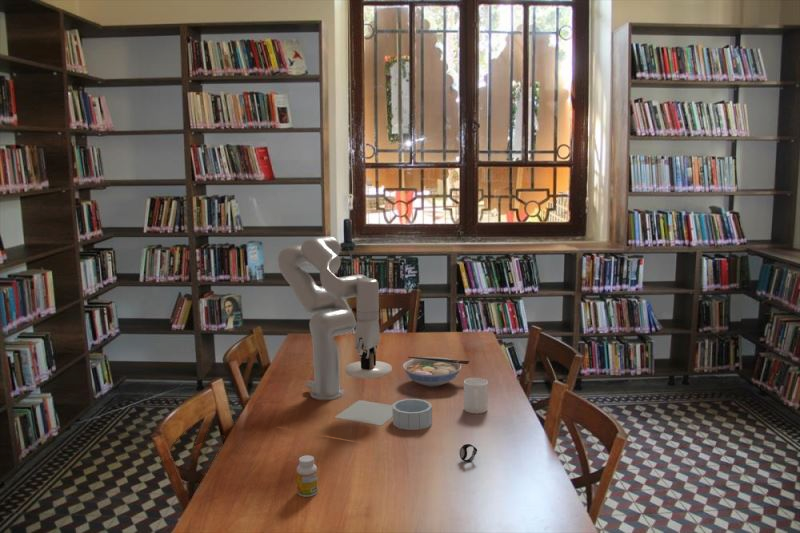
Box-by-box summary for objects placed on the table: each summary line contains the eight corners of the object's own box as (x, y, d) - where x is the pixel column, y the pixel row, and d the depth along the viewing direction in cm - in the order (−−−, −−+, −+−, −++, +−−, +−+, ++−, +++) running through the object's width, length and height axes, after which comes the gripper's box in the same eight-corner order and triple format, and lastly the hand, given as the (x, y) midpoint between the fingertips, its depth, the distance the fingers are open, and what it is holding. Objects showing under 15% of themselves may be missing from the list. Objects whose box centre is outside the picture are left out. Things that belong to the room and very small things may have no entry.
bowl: (386, 426, 232) (385, 409, 231) (402, 413, 244) (402, 396, 242) (422, 433, 226) (422, 415, 225) (437, 419, 238) (437, 402, 237)
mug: (487, 418, 238) (487, 389, 236) (462, 417, 239) (462, 388, 237) (487, 405, 250) (487, 378, 248) (464, 405, 251) (464, 377, 249)
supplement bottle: (298, 488, 191) (296, 454, 189) (318, 487, 191) (316, 453, 190) (296, 498, 186) (295, 463, 184) (317, 496, 186) (316, 462, 184)
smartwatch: (459, 458, 208) (459, 442, 207) (476, 458, 208) (476, 442, 207) (460, 464, 204) (460, 448, 203) (477, 464, 204) (478, 448, 203)
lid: (336, 374, 238) (336, 357, 237) (358, 361, 252) (358, 345, 251) (379, 381, 231) (378, 363, 230) (399, 366, 245) (399, 350, 244)
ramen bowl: (391, 389, 268) (390, 368, 266) (412, 371, 289) (412, 352, 287) (453, 397, 258) (453, 376, 257) (471, 378, 279) (471, 358, 278)
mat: (334, 418, 240) (334, 417, 240) (359, 401, 256) (359, 400, 256) (381, 426, 232) (381, 425, 232) (404, 408, 248) (404, 407, 248)
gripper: (369, 308, 247) (369, 359, 250) (346, 319, 232) (347, 372, 235) (388, 310, 244) (388, 361, 247) (366, 321, 229) (366, 375, 232)
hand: (368, 366), depth 241 cm, fingers closed on lid, 3 cm apart
